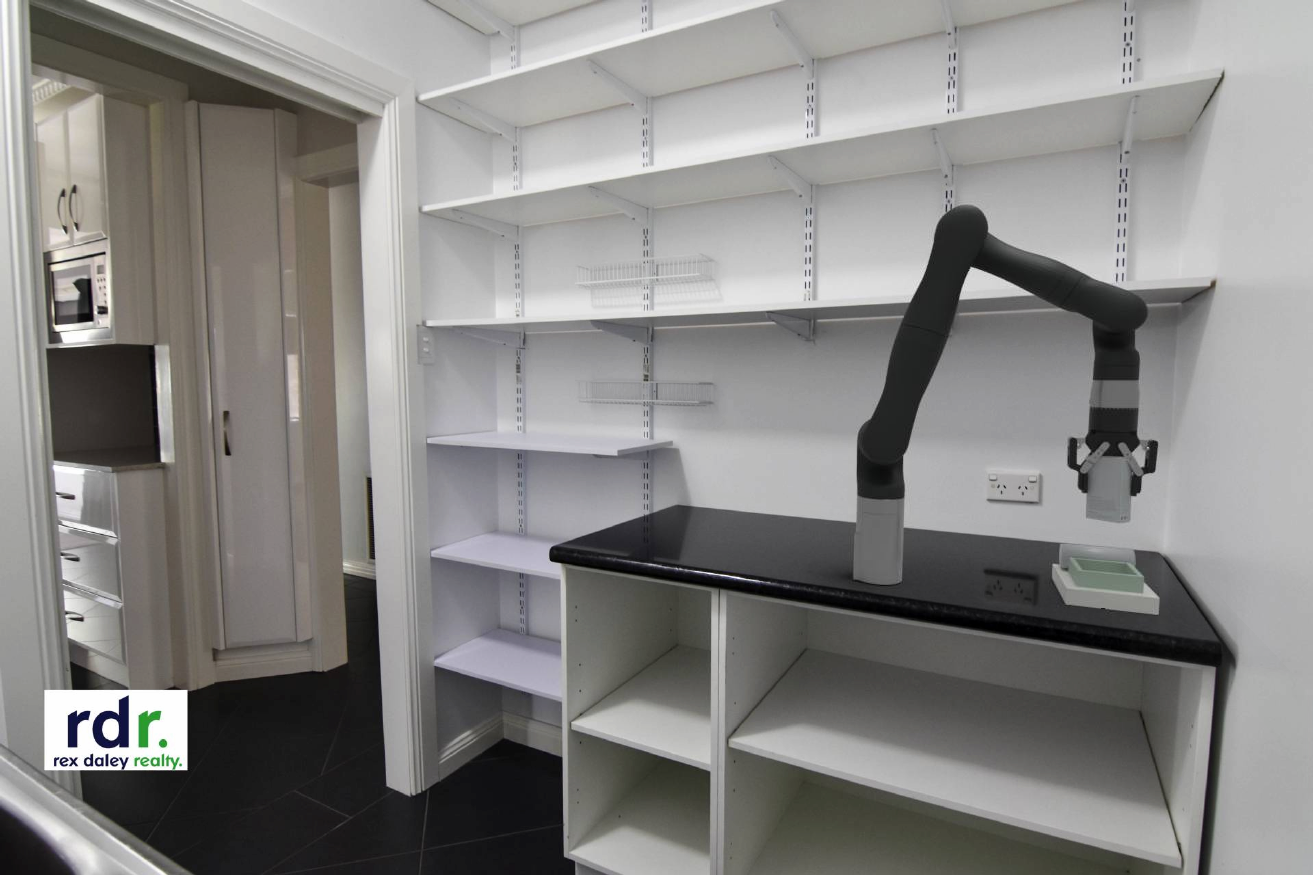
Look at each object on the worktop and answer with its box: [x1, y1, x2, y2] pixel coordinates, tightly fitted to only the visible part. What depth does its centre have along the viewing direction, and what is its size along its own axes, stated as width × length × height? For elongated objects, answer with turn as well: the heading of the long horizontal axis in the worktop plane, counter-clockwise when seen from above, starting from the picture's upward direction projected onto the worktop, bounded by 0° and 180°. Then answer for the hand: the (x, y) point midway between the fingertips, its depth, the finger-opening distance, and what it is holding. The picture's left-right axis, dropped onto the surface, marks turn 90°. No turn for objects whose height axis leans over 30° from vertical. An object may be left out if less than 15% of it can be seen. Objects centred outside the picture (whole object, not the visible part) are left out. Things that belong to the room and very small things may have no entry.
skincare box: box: [1085, 454, 1132, 524], centre depth 126 cm, size 6×4×12 cm
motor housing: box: [1051, 543, 1161, 616], centre depth 129 cm, size 14×18×8 cm
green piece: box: [1068, 557, 1145, 593], centre depth 127 cm, size 10×10×3 cm
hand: (1108, 494), depth 126 cm, fingers closed on skincare box, 7 cm apart
